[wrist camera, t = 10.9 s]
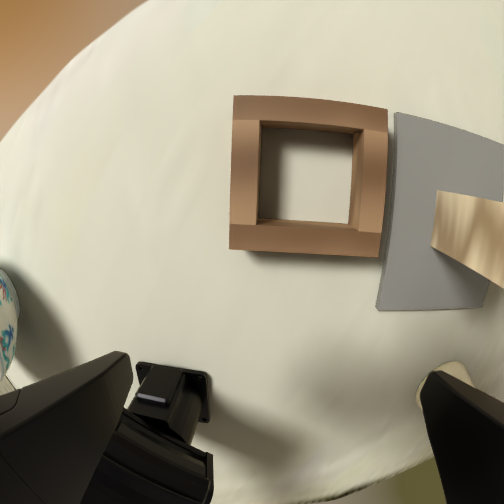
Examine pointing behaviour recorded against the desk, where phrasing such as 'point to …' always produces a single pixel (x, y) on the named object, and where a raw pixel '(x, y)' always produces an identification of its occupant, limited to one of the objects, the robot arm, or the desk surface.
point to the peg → (471, 233)
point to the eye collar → (362, 184)
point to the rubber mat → (433, 213)
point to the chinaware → (7, 322)
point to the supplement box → (5, 386)
